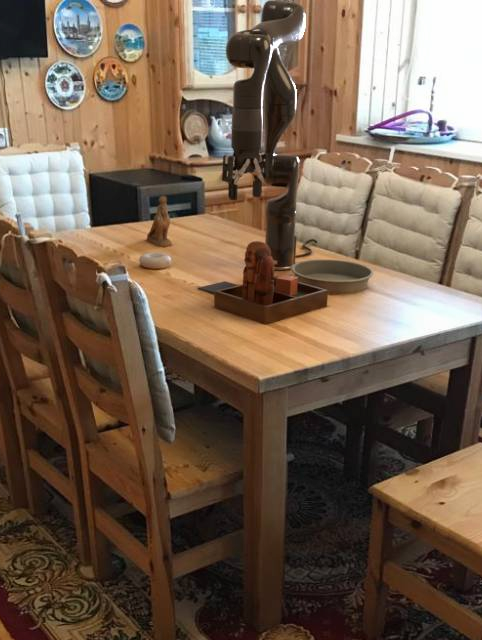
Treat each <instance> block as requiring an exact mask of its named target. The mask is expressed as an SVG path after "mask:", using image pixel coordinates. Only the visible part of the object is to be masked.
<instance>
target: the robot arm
mask: <svg viewBox="0 0 482 640" xmlns="http://www.w3.org/2000/svg"><path fill="white" fill-rule="evenodd" d="M261 9H262V10H261V16H260V17H261V19H260V22H259V23H258V24H256V25H254V26H253V27H252V28H250V29H245V30H241V31H236V32H234V33H233V34H232V35H231V36H229V39H228V40H227V42H226V46H225V56H226V59H227V61H228V63H229V64H230V65H231V66H232V67H234V68H238V69H253V72H252V74H251V76H249V77H248V78H244V79H243V78H242V79H238V80H236V81H234V83H233V90H232V91H233V92H232V95H233V96H232V97H233V98H232V107H233V108H232V112H231V113H232V114H231V135H230V136H231V140H230V143H231V144H230V145H231V146H230V147H231V149H232V151H233V153H232V155H229V154H224V155H223V156H222V171H221V181H222V182H225V183H227V184H228V190H227V191H228V193H227V194H228V195H227V196H228V198H229V200H231V201H237V200H238V186H239V185H238V183H239V181H240V178H242V177H243V176H244V174H248V173H249V174H250V175H251V177H252V179H253V181H252V196H253V197H254V198H261V197H262V196H261V195H262V193H263V191H262V190H263V183H264V185H265V186H266V187H268V188H269V187H270V188H283V189H286V191H285V192H284V193H282V194H281V195H279V196H276V197H273V198H270V199H268V200H267V202H266V208H265V209H266V211H265V233H264V234H265V236H264V237H265V238H264V243H265V244H267V245H268V246H269V248H270V250H271V257H272V259H273V261H274V271H276V270H277V271H288V270H291V267H292V266H293V265H294V264H296V258H303V257H307V256H309V255H311V254H312V252H313V249H311V248H309V247H308V246H307V245H308V244H309V243H311V242H314V244H318V241H317V240H316V239H315V238H311V239H308V240H306V241H305V242H304V243H303V244H302V248H304V249H305V250H306V251H308V252H305V253H301V254H297V255H296V253H297V238H298V237H297V235H296V218H297V199H298V187H299V177H300V159H299V157H298V156H297V155H291V154H277V153H275V152H276V148H277V146H278V144H279V142H280V141H281V138H282V137H283V135H284V134H285V133H286V132H287V130H288V129H289V127H290V126H291V124H292V123H293V121H294V119H295V117H296V114H297V89H296V85H295V83H294V80H293V79H292V76H291V74H290V73H289V71H288V69H287V68H286V66H285V65H284V63H283V60H282V58H281V54H280V51H279V49H280V48H282V47H285V46H288V45H291V44H296V43H298V42H299V41H300V40H301V39H302V38H303V35H304V32H305V29H306V18H307V17H306V11H305V9H304V7H303V5H302V4H300V3H297V2H292V1H291V2H290V1H281V0H267V1H266V2H264V4H263V7H262V8H261ZM263 123H264V124H263ZM263 125H264V126H263ZM263 127H264V128H263ZM263 129H264V132H263ZM263 133H264V134H263ZM263 135H264V136H263ZM263 137H264V139H263ZM263 141H264V142H263ZM262 149H263V151H261V150H262Z"/></svg>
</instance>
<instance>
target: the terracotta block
mask: <svg viewBox="0 0 482 640" xmlns="http://www.w3.org/2000/svg"><path fill="white" fill-rule="evenodd" d="M297 285H298V277H295V275H294V276H293V275H287V274H282V275H279V277H277V278H276V291H277V292H281V293H284V294H288V295H291V296H293V295H295V294H297Z"/></svg>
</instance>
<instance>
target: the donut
mask: <svg viewBox="0 0 482 640" xmlns="http://www.w3.org/2000/svg"><path fill="white" fill-rule="evenodd" d="M138 259H139V260H138V262H139V264H140V265H141V266H142V267H143V268H145V269H152V270H160V269H166V268H168V267H169V266H171V264H172V258H171V256H170V255H169V254H167V253H163V252H146V253H143V254H141V255H140V257H139V258H138Z"/></svg>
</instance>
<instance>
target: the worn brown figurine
mask: <svg viewBox="0 0 482 640" xmlns="http://www.w3.org/2000/svg"><path fill="white" fill-rule="evenodd" d="M167 201H168V199H167V196H166V195H165V194H162V195H160V196H159V197H158V202H159V204H157V207H156V213H155V215H154V218H153V222H152V224H151V227H150V230H149V231H148V233H147V236H146V241H148V242H149V243H151V244H154V246H155V245H156V246H158V247H169V246H170V247H171V246H172V241H171V239H169V238H168V233H169V228H170V225H171V216H170V214H169V213H168V212H169V211H168V210H169V206H168V204H167Z"/></svg>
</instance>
